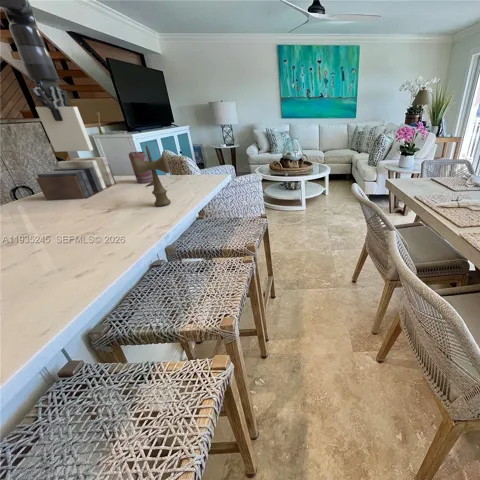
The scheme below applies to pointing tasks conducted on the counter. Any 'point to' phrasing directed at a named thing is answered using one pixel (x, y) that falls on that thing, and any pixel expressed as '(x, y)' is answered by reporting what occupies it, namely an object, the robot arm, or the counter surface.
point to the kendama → (154, 175)
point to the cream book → (65, 129)
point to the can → (145, 176)
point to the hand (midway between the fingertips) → (61, 120)
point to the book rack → (76, 179)
